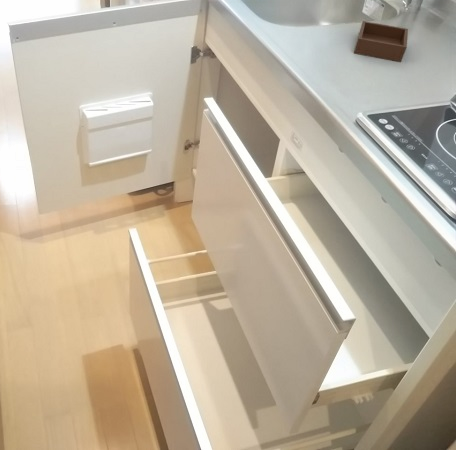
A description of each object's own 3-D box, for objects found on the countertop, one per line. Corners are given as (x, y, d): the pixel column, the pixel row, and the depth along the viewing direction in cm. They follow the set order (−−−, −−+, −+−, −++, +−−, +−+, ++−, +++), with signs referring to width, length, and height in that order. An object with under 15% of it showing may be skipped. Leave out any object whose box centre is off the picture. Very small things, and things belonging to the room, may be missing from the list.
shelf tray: (402, 43, 124) (408, 28, 122) (400, 62, 116) (406, 47, 114) (358, 35, 127) (362, 20, 124) (353, 53, 119) (358, 38, 117)
